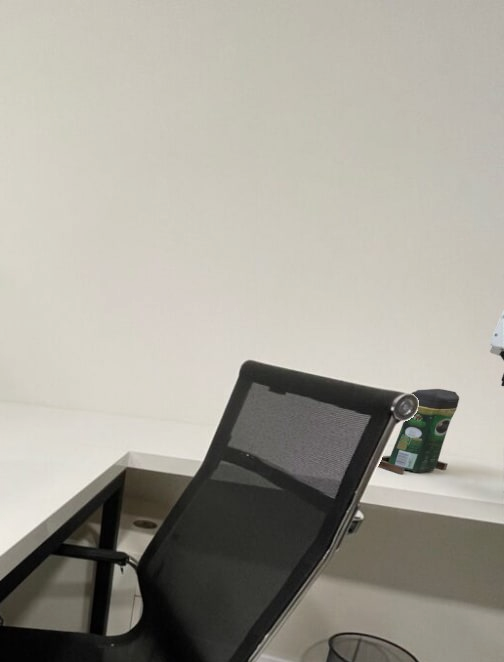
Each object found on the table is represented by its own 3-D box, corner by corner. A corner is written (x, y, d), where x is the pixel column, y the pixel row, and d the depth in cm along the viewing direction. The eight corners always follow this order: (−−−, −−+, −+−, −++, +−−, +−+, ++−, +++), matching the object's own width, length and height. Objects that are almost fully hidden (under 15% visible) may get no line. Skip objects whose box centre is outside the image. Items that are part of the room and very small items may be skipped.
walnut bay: (445, 469, 131) (448, 463, 130) (400, 474, 125) (402, 468, 124) (412, 459, 137) (414, 453, 137) (367, 463, 132) (369, 457, 131)
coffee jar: (406, 460, 136) (432, 385, 129) (440, 471, 129) (470, 392, 122) (380, 463, 132) (406, 386, 125) (414, 474, 125) (443, 393, 118)
